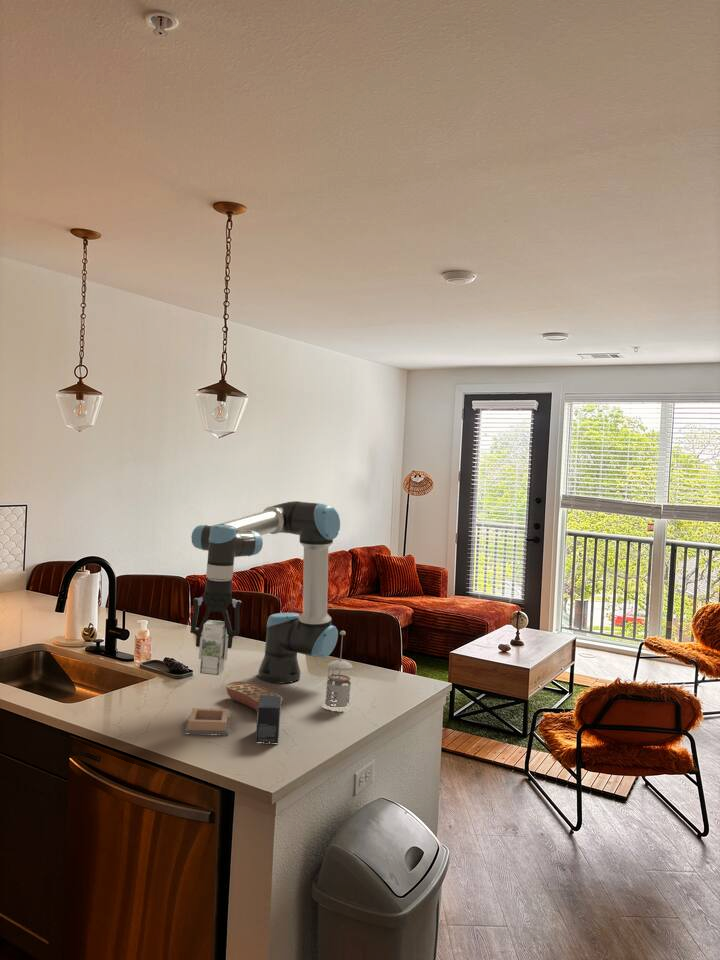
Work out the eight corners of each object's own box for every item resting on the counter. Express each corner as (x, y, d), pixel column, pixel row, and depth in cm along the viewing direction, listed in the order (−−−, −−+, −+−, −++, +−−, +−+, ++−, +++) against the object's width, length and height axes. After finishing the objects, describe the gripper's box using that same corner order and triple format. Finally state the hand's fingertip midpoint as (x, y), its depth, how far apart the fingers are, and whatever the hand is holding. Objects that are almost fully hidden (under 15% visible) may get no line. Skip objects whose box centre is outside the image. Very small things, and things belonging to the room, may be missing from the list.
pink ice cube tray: (220, 699, 233) (221, 684, 233) (245, 694, 240) (246, 679, 240) (263, 721, 217) (264, 704, 217) (289, 714, 224) (290, 699, 224)
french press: (329, 713, 228) (335, 635, 227) (314, 701, 238) (320, 626, 237) (357, 711, 232) (363, 633, 232) (341, 699, 242) (347, 625, 242)
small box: (256, 729, 209) (259, 693, 209) (279, 730, 210) (282, 695, 210) (254, 744, 199) (257, 706, 199) (278, 745, 199) (281, 707, 199)
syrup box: (224, 670, 210) (228, 620, 210) (218, 676, 205) (222, 625, 204) (205, 668, 211) (209, 619, 211) (199, 673, 205) (202, 623, 205)
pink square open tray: (230, 720, 215) (231, 708, 215) (228, 735, 203) (228, 723, 203) (189, 719, 213) (190, 707, 213) (184, 734, 202) (185, 721, 202)
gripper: (253, 578, 212) (247, 656, 213) (186, 574, 210) (180, 653, 210) (252, 583, 205) (246, 663, 205) (183, 578, 203) (176, 660, 203)
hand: (212, 658), depth 208 cm, fingers closed on syrup box, 6 cm apart
